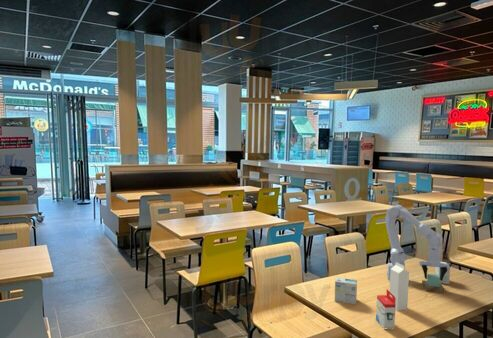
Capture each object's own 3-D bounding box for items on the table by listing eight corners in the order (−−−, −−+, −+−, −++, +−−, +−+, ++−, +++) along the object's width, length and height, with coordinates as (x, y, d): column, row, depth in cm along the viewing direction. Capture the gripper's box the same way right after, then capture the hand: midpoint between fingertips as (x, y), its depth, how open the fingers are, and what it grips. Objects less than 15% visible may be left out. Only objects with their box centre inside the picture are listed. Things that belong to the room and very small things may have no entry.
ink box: (375, 319, 155) (376, 288, 153) (385, 319, 155) (387, 288, 154) (383, 330, 146) (385, 297, 145) (395, 329, 146) (396, 297, 145)
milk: (397, 311, 163) (399, 266, 161) (388, 305, 169) (390, 262, 167) (407, 309, 164) (409, 265, 163) (398, 303, 170) (400, 261, 168)
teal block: (429, 285, 186) (429, 277, 185) (426, 282, 191) (427, 273, 190) (439, 286, 184) (439, 278, 184) (436, 283, 189) (437, 274, 189)
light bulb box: (356, 299, 175) (357, 278, 174) (356, 304, 169) (356, 284, 168) (335, 295, 178) (335, 276, 177) (334, 301, 172) (334, 281, 171)
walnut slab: (425, 291, 185) (426, 286, 185) (422, 285, 194) (422, 280, 193) (444, 294, 183) (444, 288, 182) (439, 287, 191) (439, 282, 191)
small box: (449, 284, 194) (450, 266, 193) (438, 283, 195) (439, 265, 194) (445, 279, 201) (446, 262, 201) (434, 278, 203) (435, 261, 202)
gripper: (421, 256, 185) (420, 280, 186) (451, 259, 181) (450, 283, 182) (419, 252, 191) (417, 275, 193) (447, 255, 187) (446, 278, 188)
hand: (433, 279), depth 188 cm, fingers open, 7 cm apart
